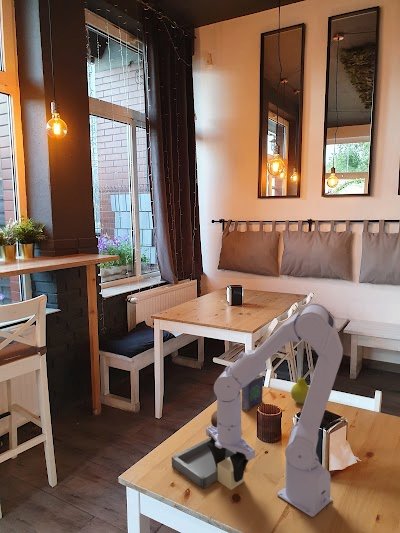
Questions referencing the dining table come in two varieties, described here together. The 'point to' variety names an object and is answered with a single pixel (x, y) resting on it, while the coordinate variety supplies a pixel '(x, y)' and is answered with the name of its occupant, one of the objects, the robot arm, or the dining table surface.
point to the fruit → (300, 391)
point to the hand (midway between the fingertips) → (229, 473)
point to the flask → (252, 393)
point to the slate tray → (198, 464)
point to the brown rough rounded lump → (214, 419)
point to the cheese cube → (227, 474)
